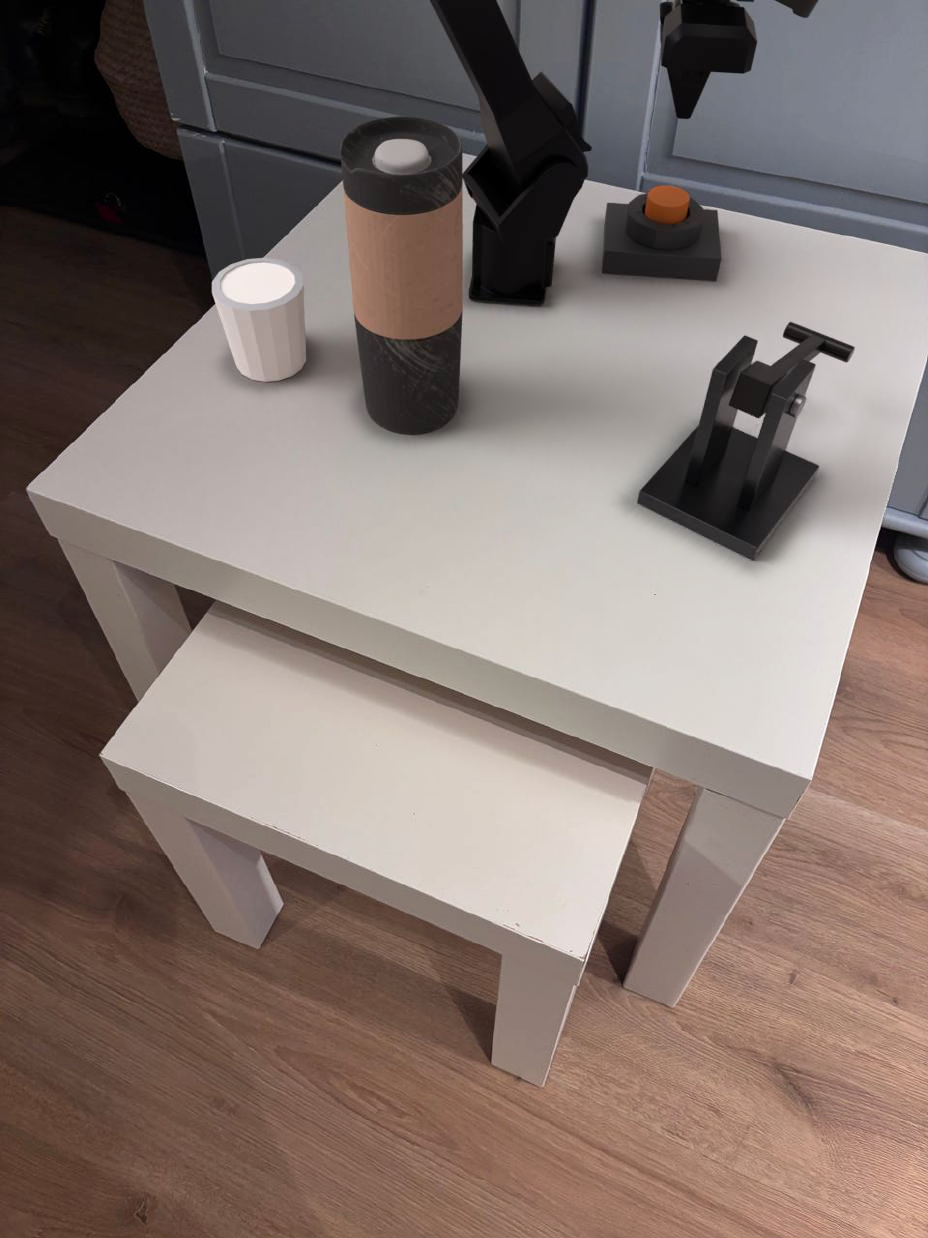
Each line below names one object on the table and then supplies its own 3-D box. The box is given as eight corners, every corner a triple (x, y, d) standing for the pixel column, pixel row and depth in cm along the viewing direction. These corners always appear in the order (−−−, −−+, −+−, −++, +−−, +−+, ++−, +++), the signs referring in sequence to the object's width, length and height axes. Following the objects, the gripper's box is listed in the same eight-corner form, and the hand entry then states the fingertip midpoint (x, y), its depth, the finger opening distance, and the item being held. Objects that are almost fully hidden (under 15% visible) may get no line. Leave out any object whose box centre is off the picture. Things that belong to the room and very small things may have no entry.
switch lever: (783, 342, 73) (795, 311, 72) (846, 368, 71) (860, 337, 70) (708, 397, 63) (720, 362, 62) (779, 428, 62) (793, 393, 60)
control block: (601, 273, 86) (607, 231, 83) (604, 224, 91) (609, 182, 88) (716, 281, 86) (726, 239, 83) (712, 231, 91) (721, 190, 87)
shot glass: (329, 346, 80) (320, 269, 74) (285, 396, 76) (272, 318, 70) (257, 324, 81) (243, 247, 76) (210, 372, 77) (192, 294, 72)
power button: (644, 224, 85) (647, 205, 83) (644, 202, 87) (647, 183, 86) (686, 227, 84) (690, 208, 83) (685, 205, 87) (689, 186, 85)
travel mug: (475, 384, 77) (481, 126, 61) (442, 447, 72) (439, 185, 57) (384, 363, 78) (367, 106, 62) (346, 423, 74) (317, 163, 58)
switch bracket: (703, 427, 74) (736, 302, 65) (815, 477, 71) (864, 353, 62) (636, 503, 69) (662, 378, 60) (752, 561, 66) (797, 438, 57)
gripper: (864, -63, 61) (795, 182, 73) (830, -154, 72) (775, 71, 84) (683, -72, 61) (644, 172, 74) (677, -160, 73) (644, 64, 85)
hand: (683, 116), depth 79 cm, fingers closed
